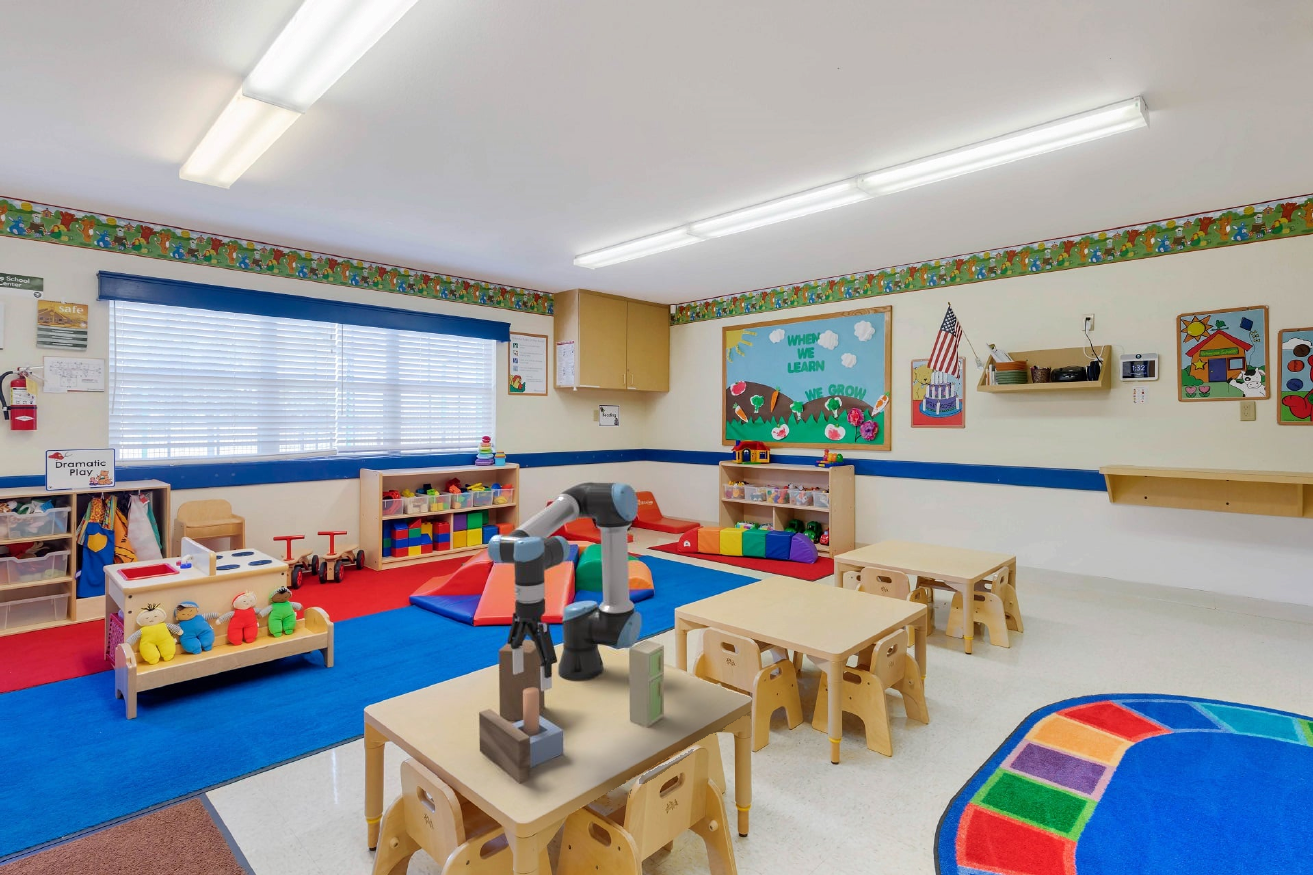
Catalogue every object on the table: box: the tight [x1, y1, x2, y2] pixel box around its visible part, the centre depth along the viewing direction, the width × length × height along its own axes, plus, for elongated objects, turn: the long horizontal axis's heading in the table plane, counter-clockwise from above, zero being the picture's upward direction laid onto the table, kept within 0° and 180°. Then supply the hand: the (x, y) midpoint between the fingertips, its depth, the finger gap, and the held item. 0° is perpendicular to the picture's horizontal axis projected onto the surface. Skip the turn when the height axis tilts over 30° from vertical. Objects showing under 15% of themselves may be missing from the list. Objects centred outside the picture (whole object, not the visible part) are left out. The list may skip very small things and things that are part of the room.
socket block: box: [511, 714, 564, 769], centre depth 161 cm, size 12×12×6 cm
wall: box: [478, 708, 532, 784], centre depth 156 cm, size 3×20×10 cm, turn 42°
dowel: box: [523, 687, 540, 737], centre depth 161 cm, size 4×4×14 cm
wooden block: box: [498, 638, 546, 722], centre depth 183 cm, size 10×10×20 cm
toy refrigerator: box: [628, 640, 665, 728], centre depth 179 cm, size 8×7×21 cm
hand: (531, 680), depth 161 cm, fingers open, 13 cm apart
